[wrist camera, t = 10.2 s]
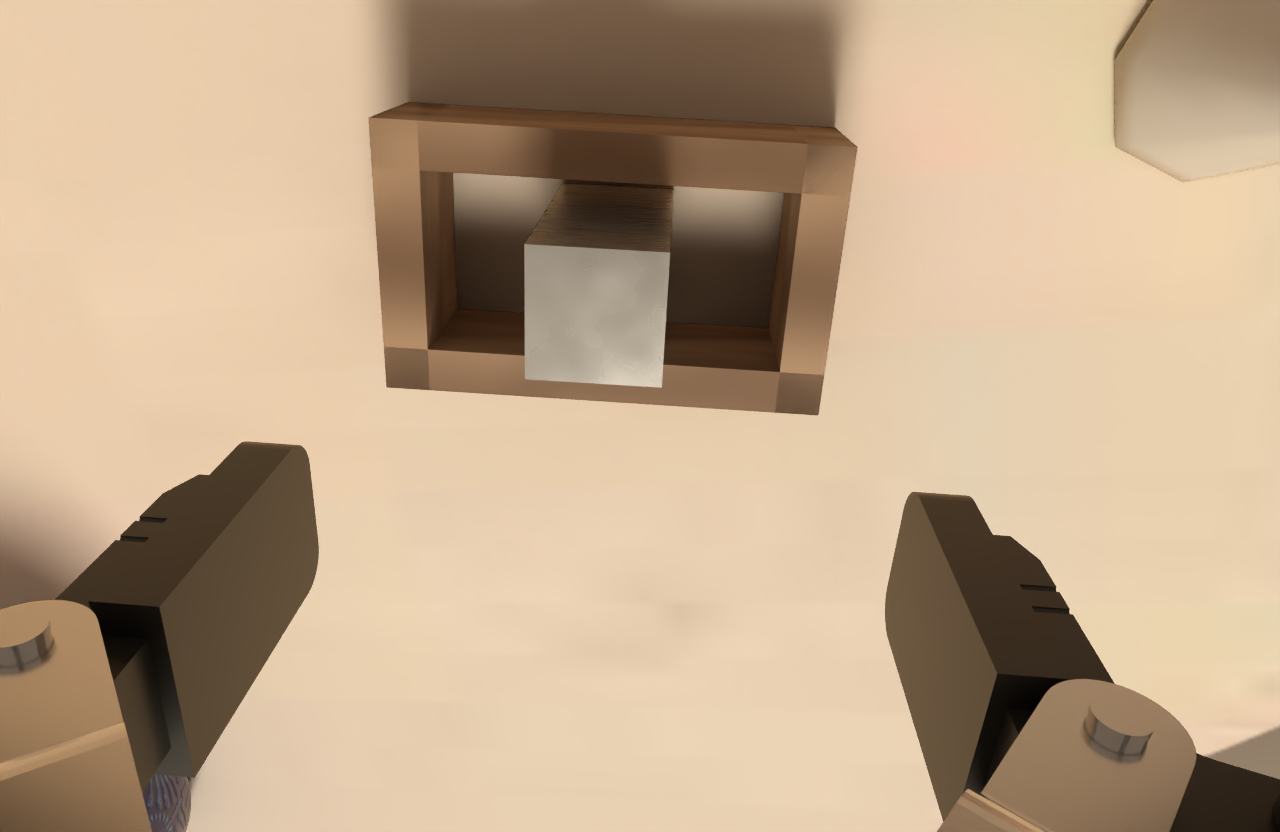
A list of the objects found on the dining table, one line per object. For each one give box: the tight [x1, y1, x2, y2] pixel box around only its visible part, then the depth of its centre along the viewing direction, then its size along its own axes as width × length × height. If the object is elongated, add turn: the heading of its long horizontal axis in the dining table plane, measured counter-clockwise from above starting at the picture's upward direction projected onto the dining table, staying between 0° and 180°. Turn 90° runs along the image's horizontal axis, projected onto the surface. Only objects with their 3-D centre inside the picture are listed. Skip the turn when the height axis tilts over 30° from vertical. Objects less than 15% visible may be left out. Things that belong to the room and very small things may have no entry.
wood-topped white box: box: [524, 183, 674, 388], centre depth 30 cm, size 4×4×9 cm
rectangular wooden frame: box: [369, 102, 857, 415], centre depth 32 cm, size 9×15×4 cm, turn 87°
